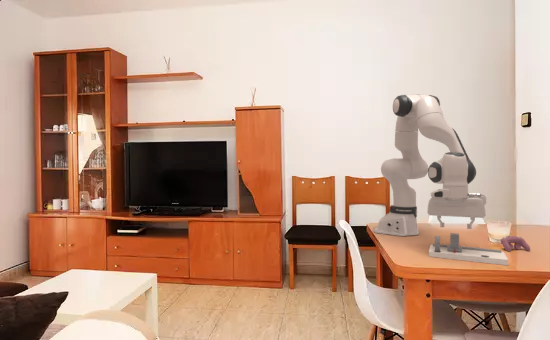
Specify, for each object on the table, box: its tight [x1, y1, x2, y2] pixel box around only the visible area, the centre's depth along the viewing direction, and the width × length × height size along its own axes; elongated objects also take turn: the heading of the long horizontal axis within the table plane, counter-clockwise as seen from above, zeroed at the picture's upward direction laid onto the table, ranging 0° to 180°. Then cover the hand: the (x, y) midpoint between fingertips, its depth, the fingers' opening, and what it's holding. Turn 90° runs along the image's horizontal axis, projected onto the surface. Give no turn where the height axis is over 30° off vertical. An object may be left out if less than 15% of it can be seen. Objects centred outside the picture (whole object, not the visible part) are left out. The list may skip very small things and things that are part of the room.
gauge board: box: [428, 235, 509, 266], centre depth 133 cm, size 26×12×8 cm, turn 62°
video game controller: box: [500, 235, 531, 253], centre depth 143 cm, size 10×5×7 cm, turn 92°
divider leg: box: [447, 232, 463, 252], centre depth 134 cm, size 5×7×6 cm
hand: (455, 227), depth 134 cm, fingers open, 8 cm apart
